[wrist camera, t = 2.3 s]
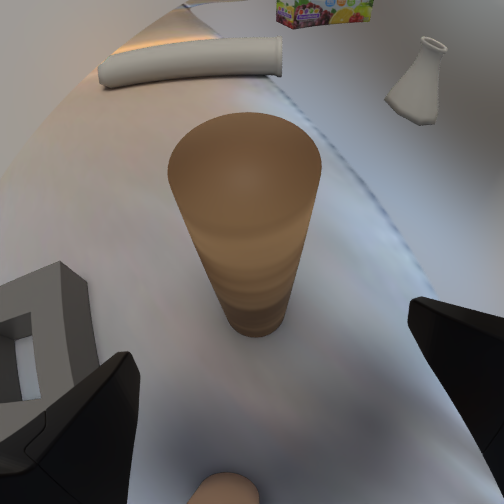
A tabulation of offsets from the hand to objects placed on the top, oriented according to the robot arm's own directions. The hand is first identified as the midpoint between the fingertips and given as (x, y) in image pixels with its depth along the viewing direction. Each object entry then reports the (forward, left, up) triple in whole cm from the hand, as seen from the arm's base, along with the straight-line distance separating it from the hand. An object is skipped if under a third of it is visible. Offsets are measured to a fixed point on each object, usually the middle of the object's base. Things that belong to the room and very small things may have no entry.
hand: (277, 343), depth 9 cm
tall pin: (+4, -1, -11) cm, 12 cm away
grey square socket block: (+4, +18, -11) cm, 21 cm away
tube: (+36, -2, -11) cm, 38 cm away
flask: (+20, -27, -11) cm, 35 cm away
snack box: (+50, -31, -11) cm, 60 cm away
